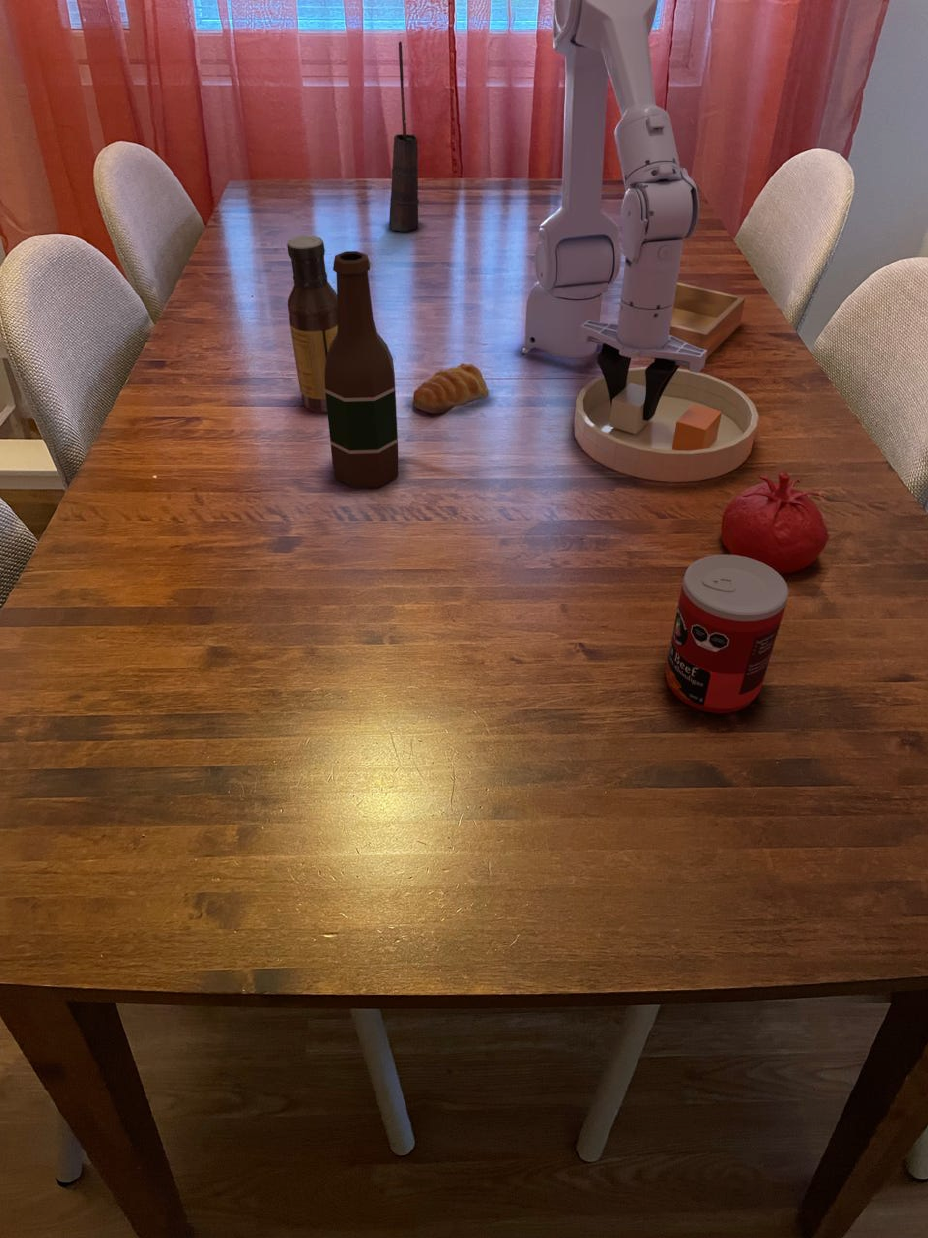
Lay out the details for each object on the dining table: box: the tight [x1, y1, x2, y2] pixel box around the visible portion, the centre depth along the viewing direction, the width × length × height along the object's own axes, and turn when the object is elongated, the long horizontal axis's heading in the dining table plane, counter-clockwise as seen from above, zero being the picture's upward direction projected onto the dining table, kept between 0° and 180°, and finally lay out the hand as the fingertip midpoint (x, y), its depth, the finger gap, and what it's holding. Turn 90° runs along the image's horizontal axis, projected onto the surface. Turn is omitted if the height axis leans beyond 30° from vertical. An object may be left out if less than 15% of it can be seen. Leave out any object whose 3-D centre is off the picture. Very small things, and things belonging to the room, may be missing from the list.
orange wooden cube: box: [672, 404, 722, 451], centre depth 108 cm, size 4×5×4 cm
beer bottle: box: [325, 250, 399, 489], centre depth 98 cm, size 8×8×24 cm
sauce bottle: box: [286, 235, 338, 414], centre depth 111 cm, size 6×6×20 cm
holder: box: [669, 281, 746, 360], centre depth 132 cm, size 13×15×4 cm
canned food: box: [665, 554, 789, 714], centre depth 77 cm, size 8×8×11 cm
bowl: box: [573, 366, 760, 483], centre depth 110 cm, size 20×20×4 cm
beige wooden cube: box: [609, 383, 654, 434], centre depth 111 cm, size 4×5×4 cm
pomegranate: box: [720, 471, 830, 575], centre depth 91 cm, size 10×10×9 cm
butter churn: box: [388, 40, 420, 233], centre depth 156 cm, size 9×10×28 cm
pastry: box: [412, 362, 489, 415], centre depth 117 cm, size 9×7×4 cm
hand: (632, 412), depth 111 cm, fingers closed on beige wooden cube, 3 cm apart
